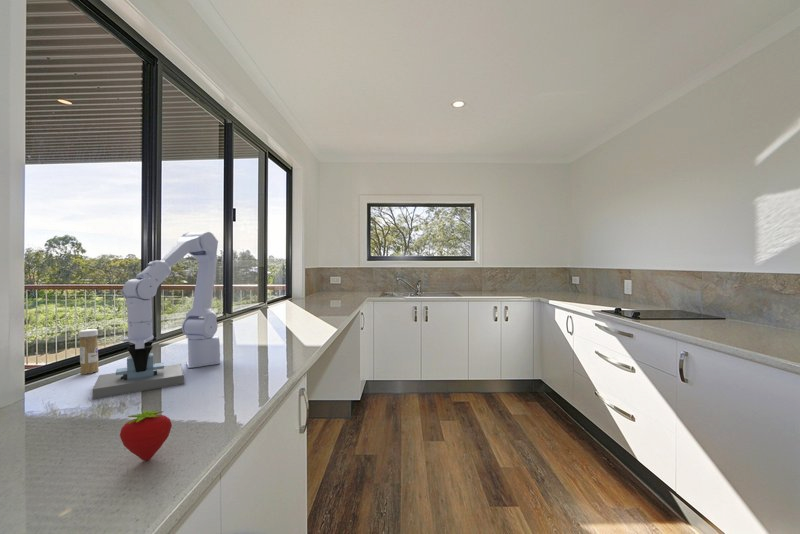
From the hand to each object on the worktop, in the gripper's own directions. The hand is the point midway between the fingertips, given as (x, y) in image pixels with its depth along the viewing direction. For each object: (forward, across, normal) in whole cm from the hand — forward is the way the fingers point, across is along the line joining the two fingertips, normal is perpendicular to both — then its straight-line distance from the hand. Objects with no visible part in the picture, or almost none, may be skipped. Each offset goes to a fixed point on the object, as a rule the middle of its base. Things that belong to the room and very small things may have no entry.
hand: (141, 369), depth 105 cm
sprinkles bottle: (+4, -23, -14) cm, 27 cm away
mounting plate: (+4, 0, 0) cm, 4 cm away
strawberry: (+4, +50, +2) cm, 50 cm away
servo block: (+3, 0, 0) cm, 3 cm away
